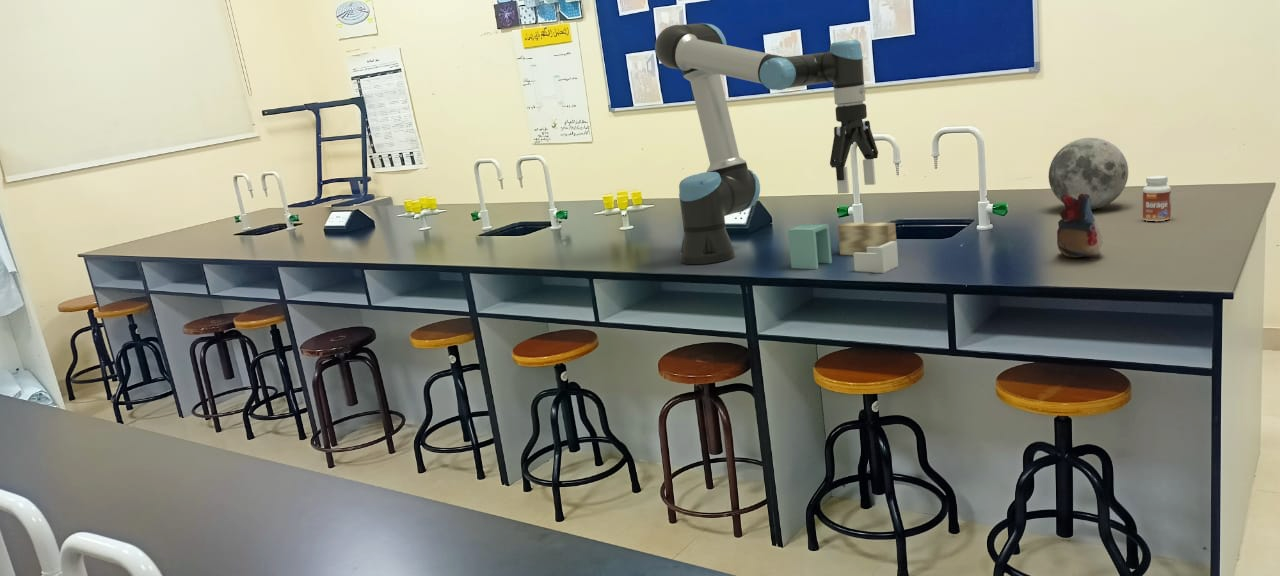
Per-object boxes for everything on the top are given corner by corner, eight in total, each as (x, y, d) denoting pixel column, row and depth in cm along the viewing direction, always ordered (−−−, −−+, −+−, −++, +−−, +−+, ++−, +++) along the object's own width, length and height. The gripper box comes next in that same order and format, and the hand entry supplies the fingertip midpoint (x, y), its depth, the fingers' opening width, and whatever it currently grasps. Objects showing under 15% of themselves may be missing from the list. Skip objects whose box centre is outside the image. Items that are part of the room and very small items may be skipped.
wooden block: (840, 255, 239) (837, 225, 237) (847, 252, 242) (845, 222, 240) (889, 257, 230) (887, 225, 228) (897, 253, 232) (895, 222, 231)
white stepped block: (854, 271, 218) (852, 246, 217) (869, 264, 223) (868, 240, 222) (883, 273, 213) (881, 247, 212) (898, 266, 218) (896, 241, 217)
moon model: (1070, 202, 272) (1068, 134, 268) (1141, 204, 256) (1140, 132, 252) (1036, 214, 260) (1033, 144, 256) (1108, 216, 244) (1107, 141, 240)
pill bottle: (1142, 223, 232) (1142, 179, 229) (1142, 218, 237) (1142, 175, 234) (1171, 222, 229) (1171, 177, 226) (1170, 217, 234) (1170, 174, 231)
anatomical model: (1105, 250, 208) (1104, 184, 204) (1100, 263, 197) (1099, 193, 194) (1060, 251, 212) (1058, 187, 209) (1053, 263, 202) (1051, 195, 199)
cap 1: (791, 268, 230) (787, 229, 228) (807, 261, 235) (803, 223, 233) (816, 269, 225) (813, 229, 223) (831, 262, 230) (828, 224, 228)
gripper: (838, 107, 217) (845, 196, 222) (887, 98, 235) (893, 180, 240) (810, 110, 223) (818, 197, 227) (861, 100, 240) (867, 181, 245)
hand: (857, 188), depth 233 cm, fingers open, 13 cm apart
